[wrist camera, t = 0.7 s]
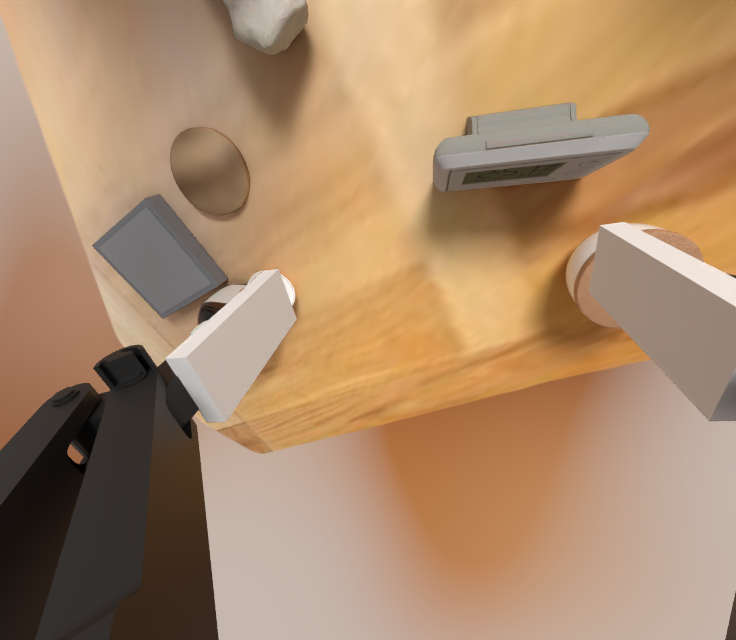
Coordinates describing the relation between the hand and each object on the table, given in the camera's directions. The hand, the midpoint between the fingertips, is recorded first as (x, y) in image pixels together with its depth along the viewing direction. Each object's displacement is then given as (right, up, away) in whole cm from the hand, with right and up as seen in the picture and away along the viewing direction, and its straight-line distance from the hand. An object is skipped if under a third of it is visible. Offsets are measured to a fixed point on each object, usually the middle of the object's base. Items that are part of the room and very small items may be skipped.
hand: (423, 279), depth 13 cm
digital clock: (+13, +16, +21) cm, 29 cm away
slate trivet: (-33, +8, +35) cm, 49 cm away
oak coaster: (-22, +17, +27) cm, 39 cm away
